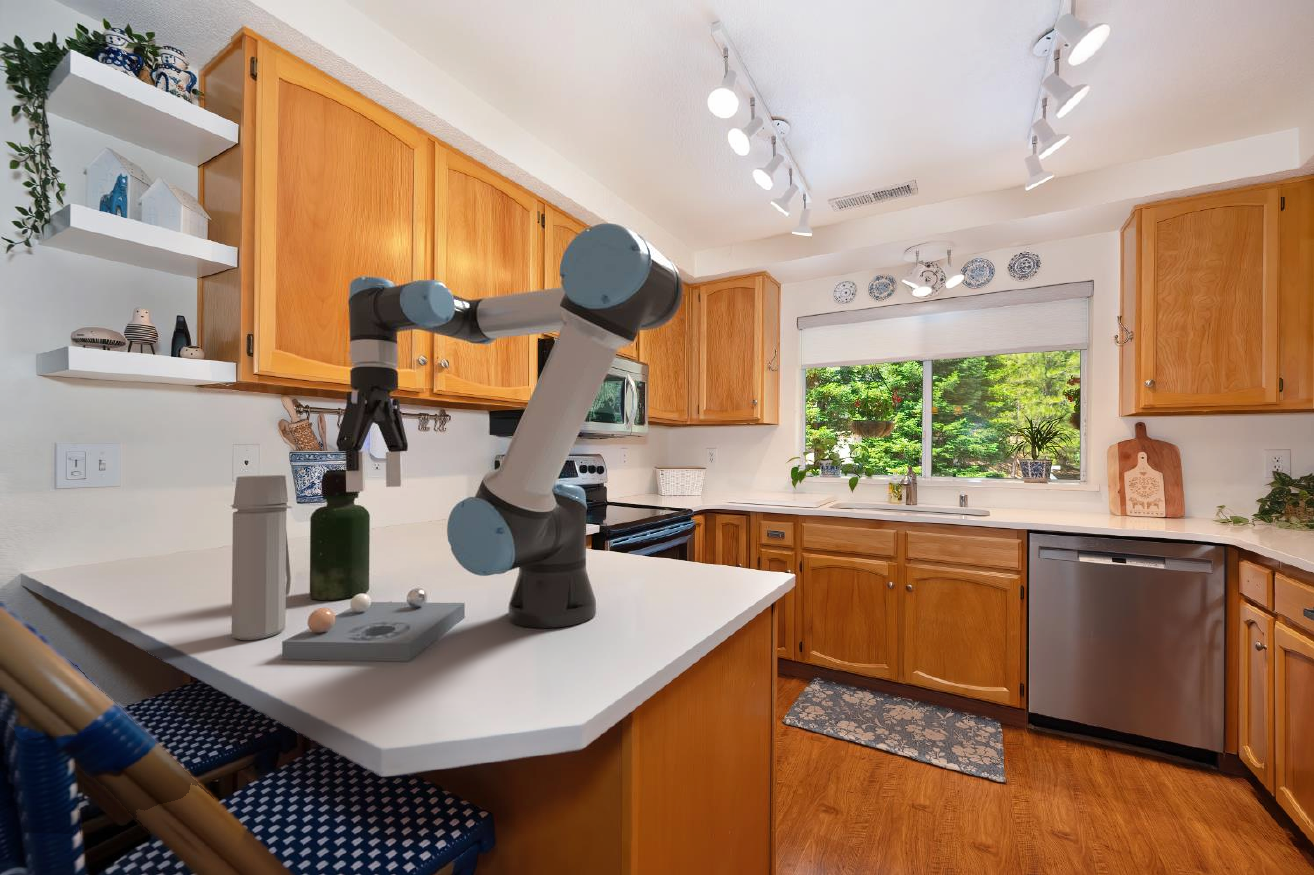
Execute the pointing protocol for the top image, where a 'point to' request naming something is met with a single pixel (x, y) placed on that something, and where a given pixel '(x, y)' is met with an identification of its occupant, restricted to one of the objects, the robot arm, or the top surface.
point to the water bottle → (259, 557)
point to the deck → (376, 633)
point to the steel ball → (417, 598)
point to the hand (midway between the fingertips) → (376, 489)
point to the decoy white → (360, 603)
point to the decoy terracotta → (321, 620)
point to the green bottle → (339, 542)
